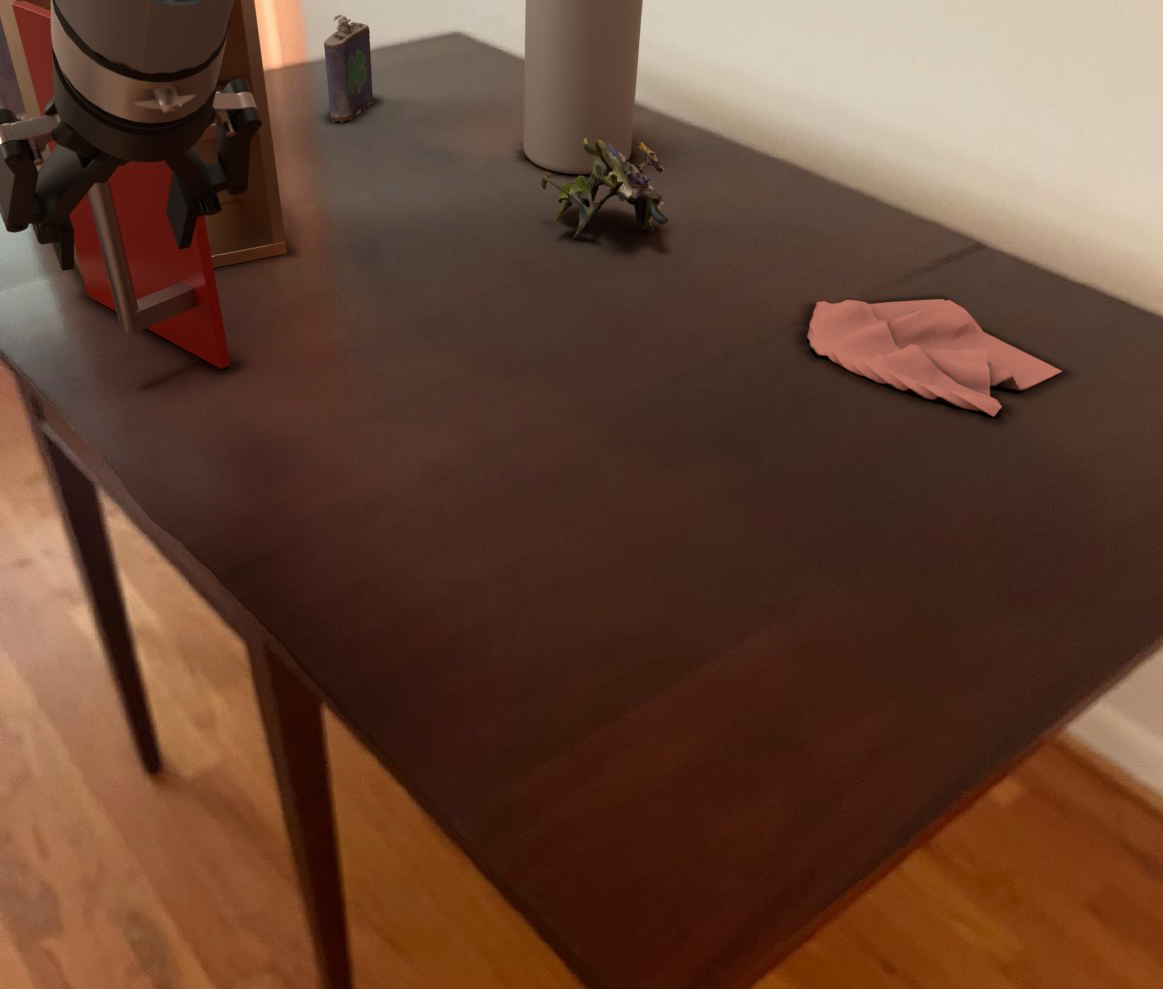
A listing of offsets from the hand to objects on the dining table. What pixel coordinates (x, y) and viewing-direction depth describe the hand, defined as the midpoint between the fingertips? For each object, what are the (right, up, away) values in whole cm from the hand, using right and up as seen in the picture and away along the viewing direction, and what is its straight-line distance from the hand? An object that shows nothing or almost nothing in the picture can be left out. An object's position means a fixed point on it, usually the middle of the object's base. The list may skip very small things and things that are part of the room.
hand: (120, 239), depth 75 cm
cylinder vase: (+30, +27, +57) cm, 70 cm away
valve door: (-8, -3, +20) cm, 22 cm away
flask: (+2, +35, +64) cm, 73 cm away
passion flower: (+33, +13, +42) cm, 55 cm away
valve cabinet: (-9, +10, +34) cm, 37 cm away
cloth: (+62, -3, +26) cm, 67 cm away
